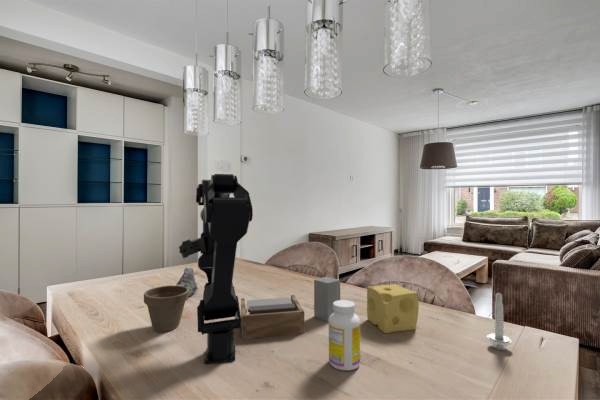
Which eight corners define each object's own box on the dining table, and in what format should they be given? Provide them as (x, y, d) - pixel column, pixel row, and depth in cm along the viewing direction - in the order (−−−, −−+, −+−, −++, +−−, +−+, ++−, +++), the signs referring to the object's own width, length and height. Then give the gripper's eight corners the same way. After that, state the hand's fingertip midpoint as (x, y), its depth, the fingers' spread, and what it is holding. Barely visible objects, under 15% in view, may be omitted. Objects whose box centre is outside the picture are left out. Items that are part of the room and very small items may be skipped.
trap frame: (304, 332, 81) (304, 311, 81) (242, 338, 78) (242, 316, 78) (293, 313, 95) (293, 294, 95) (241, 317, 92) (241, 298, 92)
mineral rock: (181, 302, 106) (181, 273, 105) (159, 298, 110) (158, 270, 110) (207, 292, 117) (207, 265, 117) (186, 288, 122) (186, 263, 122)
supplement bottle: (356, 355, 69) (356, 298, 69) (363, 371, 63) (363, 308, 63) (326, 355, 69) (326, 298, 69) (330, 372, 63) (330, 309, 63)
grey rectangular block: (327, 321, 89) (327, 283, 88) (314, 316, 93) (314, 279, 93) (340, 316, 92) (340, 279, 92) (326, 311, 96) (326, 276, 96)
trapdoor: (296, 317, 83) (296, 307, 83) (248, 321, 80) (248, 310, 80) (289, 303, 94) (289, 294, 94) (246, 306, 91) (246, 297, 91)
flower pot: (198, 324, 87) (198, 288, 87) (161, 340, 77) (161, 299, 77) (171, 316, 93) (171, 282, 93) (134, 330, 83) (134, 292, 83)
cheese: (384, 334, 80) (384, 296, 80) (365, 319, 91) (365, 284, 91) (419, 330, 83) (419, 292, 83) (396, 315, 93) (396, 282, 93)
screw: (514, 348, 72) (506, 354, 70) (492, 341, 76) (483, 346, 73) (514, 293, 72) (506, 297, 69) (492, 288, 76) (483, 291, 73)
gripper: (187, 225, 88) (187, 280, 88) (174, 232, 70) (174, 301, 70) (227, 224, 90) (227, 278, 90) (225, 231, 72) (225, 298, 72)
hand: (214, 287), depth 81 cm, fingers open, 9 cm apart
